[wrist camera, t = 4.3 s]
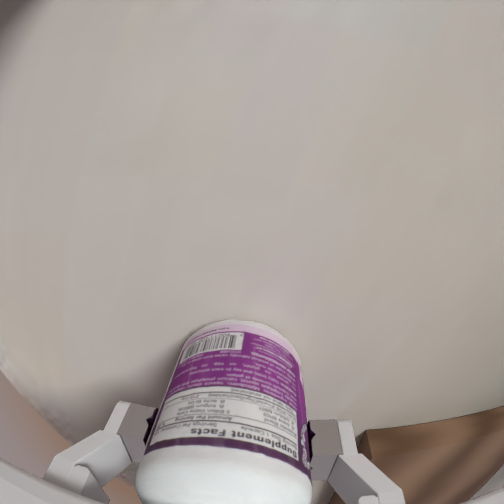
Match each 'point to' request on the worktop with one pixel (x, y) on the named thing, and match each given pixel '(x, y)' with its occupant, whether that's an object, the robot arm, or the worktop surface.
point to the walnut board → (438, 457)
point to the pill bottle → (230, 423)
